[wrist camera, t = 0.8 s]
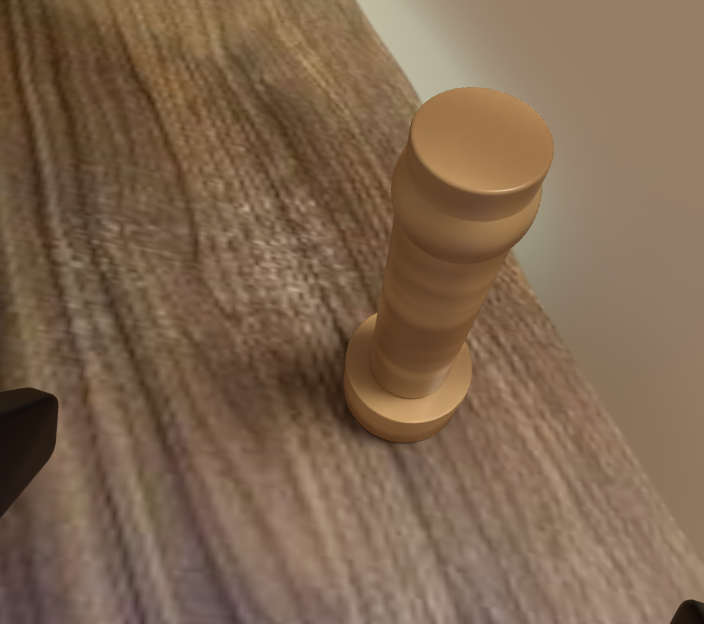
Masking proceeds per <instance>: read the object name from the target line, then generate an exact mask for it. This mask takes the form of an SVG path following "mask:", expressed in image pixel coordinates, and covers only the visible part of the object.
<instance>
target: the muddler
mask: <svg viewBox="0 0 704 624" xmlns="http://www.w3.org/2000/svg"><path fill="white" fill-rule="evenodd" d="M553 156H554V144H553V139H552V135H551V133H550V130H549V128H548V126H547V125H546V123H545V121H544V120H543V119H542V118H541V116H540V115H539V114H538V113H537V112H536V111H535V110H533V109H532V108H531V107H530V106H529V105H527V104H525V103H524V102H522V101H521V100H519V99H517V98H515V97H513V96H511V95H508V94H506V93H503V92H499V91H497V90H492V89H486V88H476V87H469V88H468V87H467V88H458V89H452V90H449V91H445V92H443V93H440V94H438V95H436V96H434V97H432V98H431V99H429V100H428V101H427V102H426V103H424V104H423V105H422V106H421V107H420V109H419V110H418V111H417V113H416V114H415V116H414V118H413V120H412V123H411V126H410V131H409V137H408V142H407V146H406V147H405V149H404V150H403V151H402V153H401V155H400V157H399V159H398V162H397V164H396V167H395V170H394V174H393V178H392V188H391V195H392V204H393V209H394V213H395V216H394V222H393V228H392V233H391V239H390V245H389V250H388V256H387V262H386V267H385V273H384V279H383V284H382V290H381V296H380V301H379V307H378V313H376V314H374V315H372V316H371V317H369V318H368V319H366V320H365V321H364V322H363V323H362V324H361V325H360V326H359V327H358V328H357V329H356V331H355V332H354V334H353V335H352V337H351V339H350V342H349V344H348V348H347V352H346V360H345V371H344V395H345V399H346V403H347V405H348V407H349V410H350V411H351V413H352V415H353V416H354V417H355V419H356V420H357V421H358V422H359V423H360V424H361V425H362V426H363V427H364V428H365V429H366V430H368V431H369V432H370V433H372V434H374V435H376V436H378V437H380V438H382V439H385V440H389V441H392V442H399V443H410V442H417V441H421V440H424V439H427V438H429V437H431V436H433V435H435V434H436V433H438V432H439V431H440V430H442V429H443V428H444V427H445V426H446V425H447V424H448V422H449V421H450V420H451V418H452V417H453V415H454V413H455V412H456V410H457V408H458V407H459V405H460V403H461V402H462V400H463V399H464V397H465V395H466V393H467V391H468V389H469V386H470V383H471V378H472V360H471V356H470V352H469V349H468V347H467V344H466V343H465V339H466V337H467V335H468V333H469V331H470V329H471V327H472V325H473V323H474V321H475V319H476V317H477V315H478V313H479V311H480V309H481V307H482V305H483V303H484V301H485V299H486V297H487V295H488V292H489V290H490V288H491V286H492V284H493V282H494V280H495V278H496V276H497V274H498V272H499V270H500V268H501V266H502V264H503V262H504V260H505V258H506V256H507V254H508V252H509V250H510V248H512V247H513V246H514V245H515V244H516V243H517V242H519V241H520V239H521V238H522V237H523V236H524V235H525V234H526V232H527V231H528V230H529V228H530V227H531V225H532V223H533V221H534V219H535V217H536V215H537V212H538V209H539V206H540V201H541V195H542V183H543V181H544V179H545V177H546V175H547V173H548V171H549V168H550V166H551V163H552V160H553Z"/></svg>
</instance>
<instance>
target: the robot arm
mask: <svg viewBox="0 0 704 624" xmlns="http://www.w3.org/2000/svg"><path fill="white" fill-rule="evenodd" d="M57 419H58V400H57V398H56V397H55V396H54V395H53V394H50V393H47V392H44V391H41V390H37V389H34V388H21V389H15V390H10V391H4V392H0V518H1V517H2V516H3V515H4V513H5V512H6V511H7V510H8V509H9V507H10V506H11V505H12V504H13V502H14V501H15V500H16V499H17V498H18V496H19V495H20V494H21V493H22V492H23V490H24V489H25V488H26V487H27V486H28V484H29V483H30V482H31V481H32V480H33V478H34V477H35V476H36V475H37V473H38V472H39V471H40V470H41V469H42V467H43V466H44V465H45V464H46V463H47V461H48V460H49V458H50V457H51V455H52V453H53V451H54V448H55V443H56V432H57ZM670 624H704V603H702V602H698V601H695V600H686V601H684V602H683V603H682V604H681V605H680V606H679V608H678V610H677V611H676V613H675V615H674V617H673V619H672V621H671V622H670Z"/></svg>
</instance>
